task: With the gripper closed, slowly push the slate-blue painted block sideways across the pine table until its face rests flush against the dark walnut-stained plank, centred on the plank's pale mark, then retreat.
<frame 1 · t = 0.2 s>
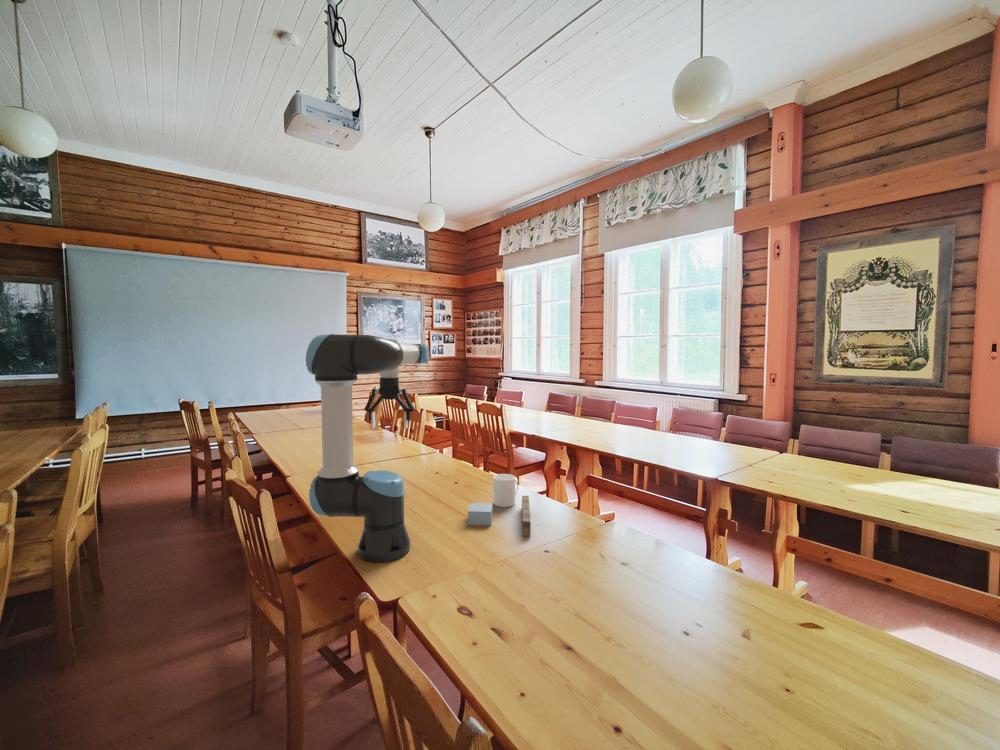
hand: (389, 428, 176), 28 cm above the table, fingers open, 13 cm apart
board: (525, 521, 150), on the table
block: (480, 521, 151), on the table
mug: (507, 503, 169), on the table
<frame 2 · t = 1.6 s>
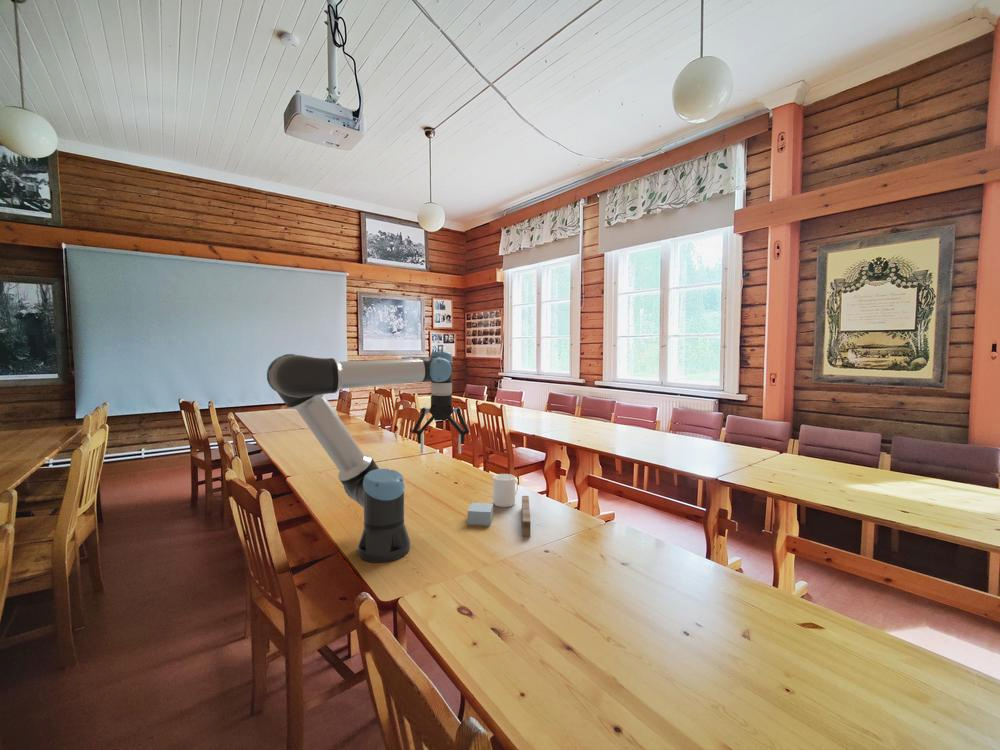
hand: (441, 452, 154), 23 cm above the table, fingers open, 13 cm apart
nothing on the table moved.
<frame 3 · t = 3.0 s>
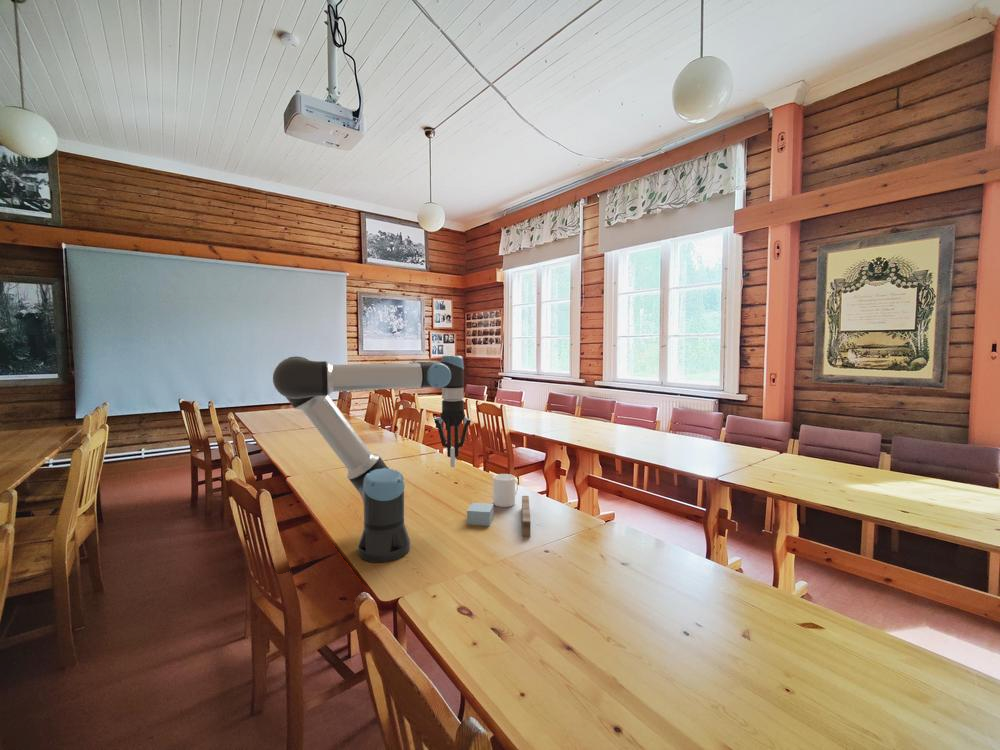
hand: (453, 465, 150), 19 cm above the table, fingers closed
nothing on the table moved.
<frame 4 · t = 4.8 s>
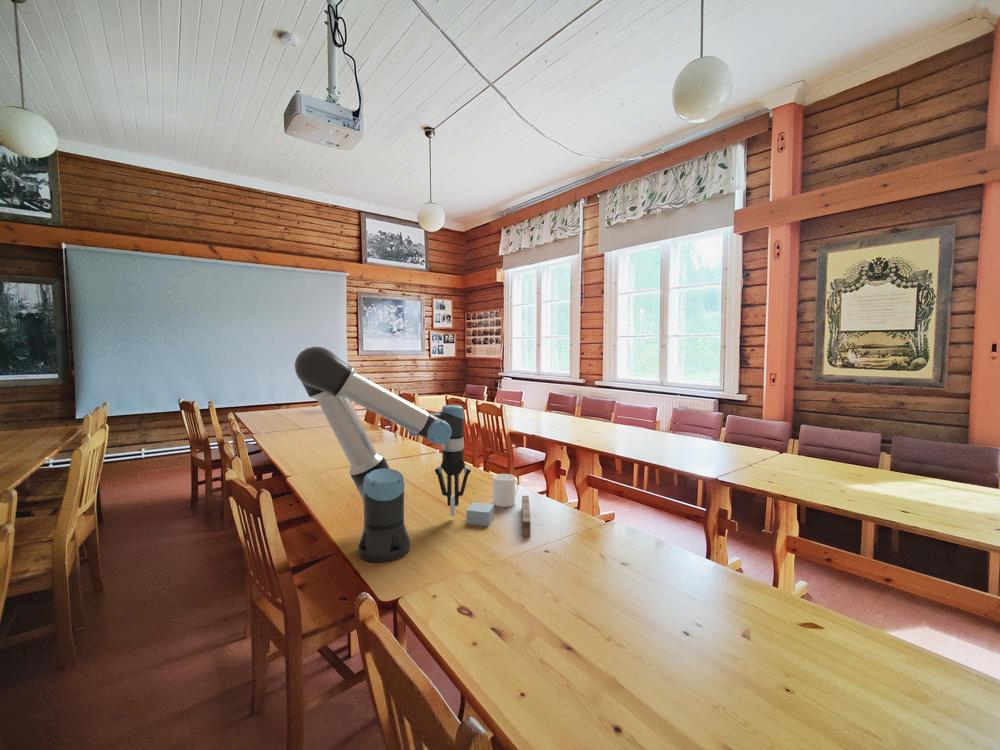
hand: (453, 514, 151), 2 cm above the table, fingers closed
nothing on the table moved.
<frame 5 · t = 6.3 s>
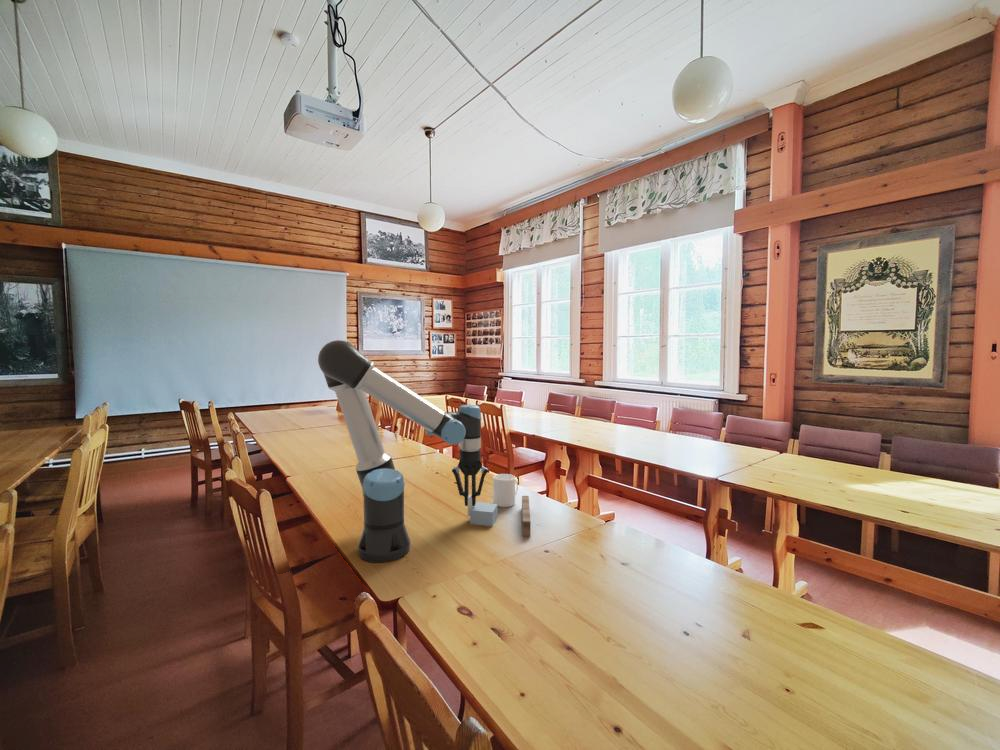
hand: (470, 514, 151), 2 cm above the table, fingers closed
block: (484, 520, 151), on the table, touching gripper
everything else where it was.
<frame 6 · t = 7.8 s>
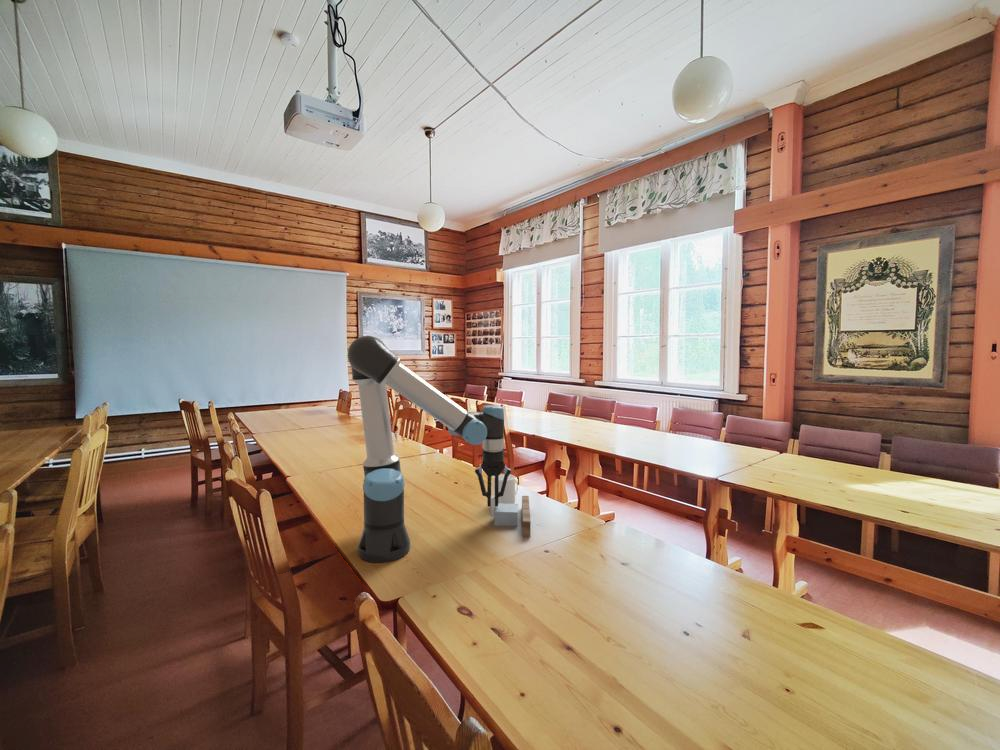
hand: (492, 515, 151), 2 cm above the table, fingers closed
block: (506, 521, 151), on the table, touching gripper
everything else where it was.
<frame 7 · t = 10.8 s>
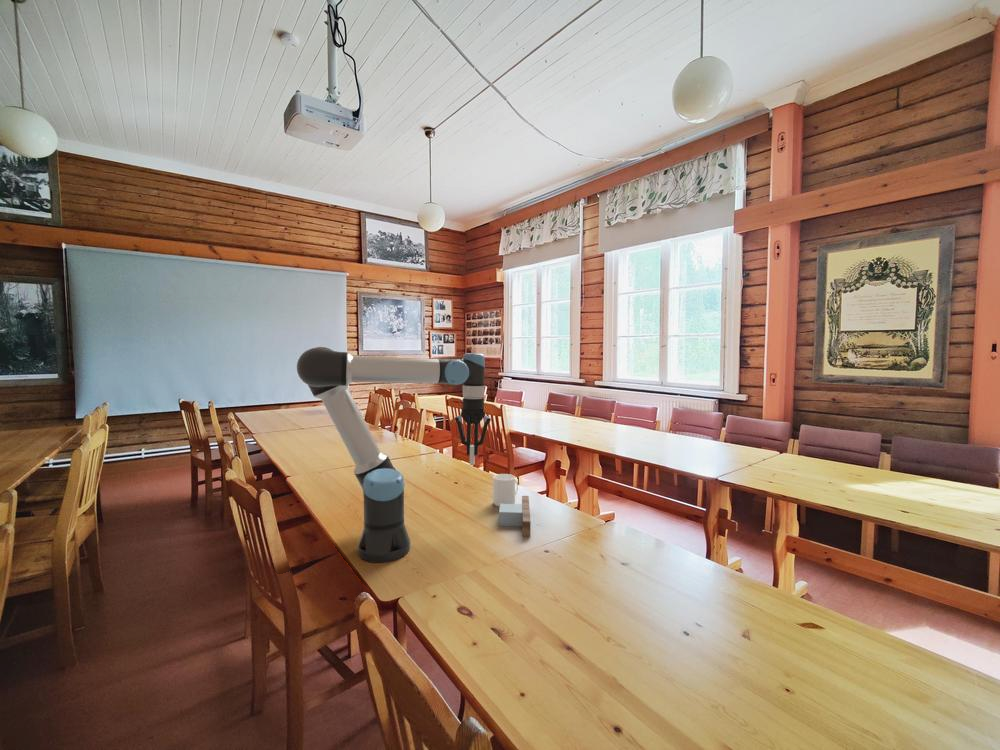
hand: (472, 464, 150), 20 cm above the table, fingers closed
block: (510, 521, 150), on the table
everything else where it was.
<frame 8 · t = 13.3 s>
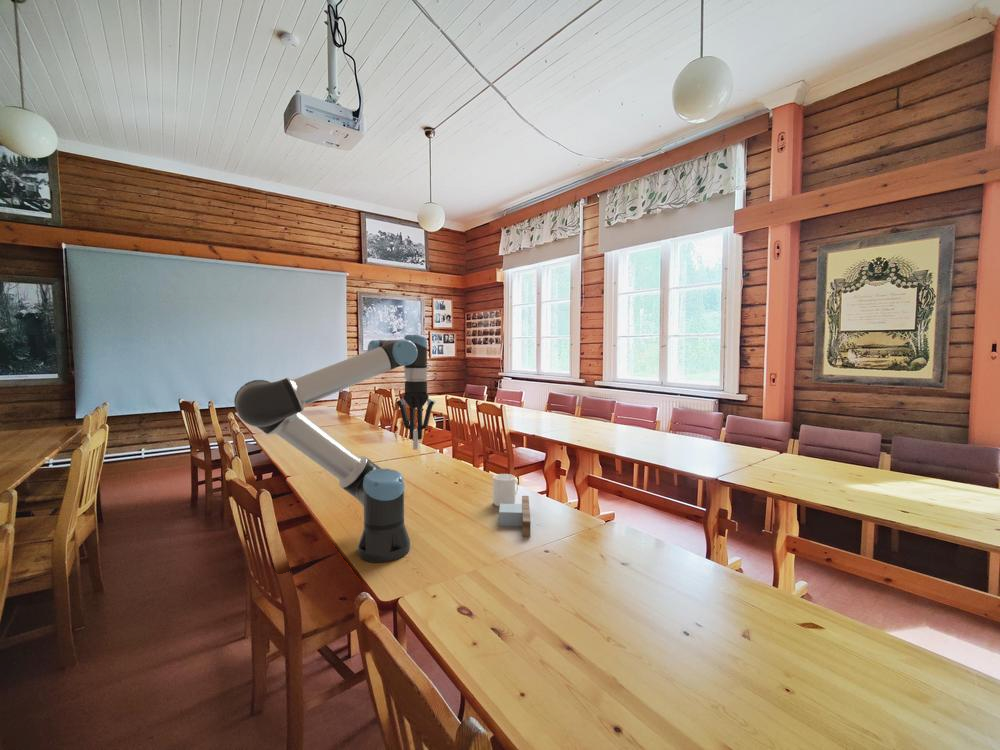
hand: (416, 448, 146), 26 cm above the table, fingers closed
nothing on the table moved.
at the end: block inside the target area on the table beside the board (0.2 cm from its centre), on the table; block tilted 0°; block moved 10.7 cm from its start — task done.
